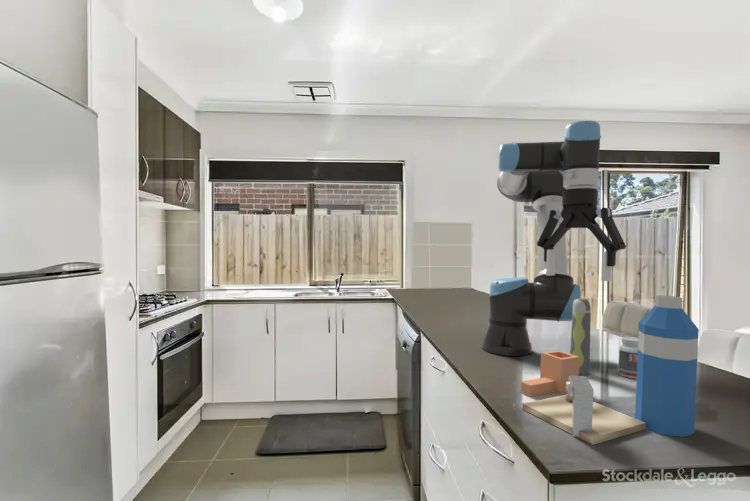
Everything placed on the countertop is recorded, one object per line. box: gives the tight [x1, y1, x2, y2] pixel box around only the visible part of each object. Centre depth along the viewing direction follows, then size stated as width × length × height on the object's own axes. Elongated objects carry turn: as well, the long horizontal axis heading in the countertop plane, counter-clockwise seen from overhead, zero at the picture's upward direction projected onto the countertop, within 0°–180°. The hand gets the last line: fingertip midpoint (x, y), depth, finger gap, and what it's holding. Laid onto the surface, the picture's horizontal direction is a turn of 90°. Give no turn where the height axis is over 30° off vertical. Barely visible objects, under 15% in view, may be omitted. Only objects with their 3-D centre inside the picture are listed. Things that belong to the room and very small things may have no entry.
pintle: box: [565, 376, 573, 403], centre depth 87 cm, size 2×2×5 cm
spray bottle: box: [569, 298, 592, 376], centre depth 110 cm, size 5×5×20 cm
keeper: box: [570, 375, 594, 438], centre depth 76 cm, size 7×3×9 cm, turn 161°
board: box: [522, 394, 647, 446], centre depth 81 cm, size 16×15×1 cm
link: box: [520, 350, 580, 397], centre depth 96 cm, size 14×6×8 cm, turn 116°
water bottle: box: [634, 294, 700, 438], centre depth 78 cm, size 9×9×25 cm
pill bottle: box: [617, 336, 638, 380], centre depth 108 cm, size 6×6×10 cm
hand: (576, 278), depth 97 cm, fingers open, 13 cm apart
